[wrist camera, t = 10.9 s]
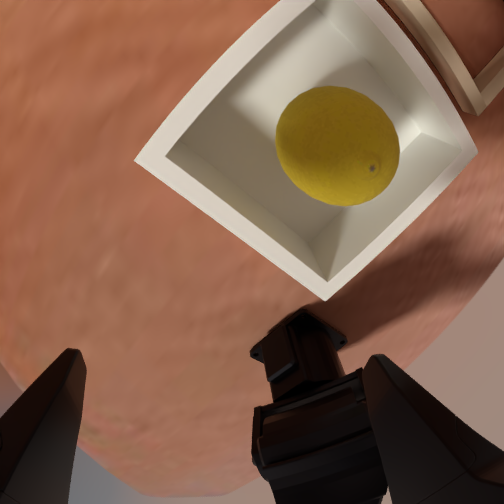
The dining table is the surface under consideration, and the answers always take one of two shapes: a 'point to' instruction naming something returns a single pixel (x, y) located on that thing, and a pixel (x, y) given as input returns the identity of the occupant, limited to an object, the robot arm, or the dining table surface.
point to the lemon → (337, 145)
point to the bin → (264, 130)
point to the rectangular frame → (451, 59)
